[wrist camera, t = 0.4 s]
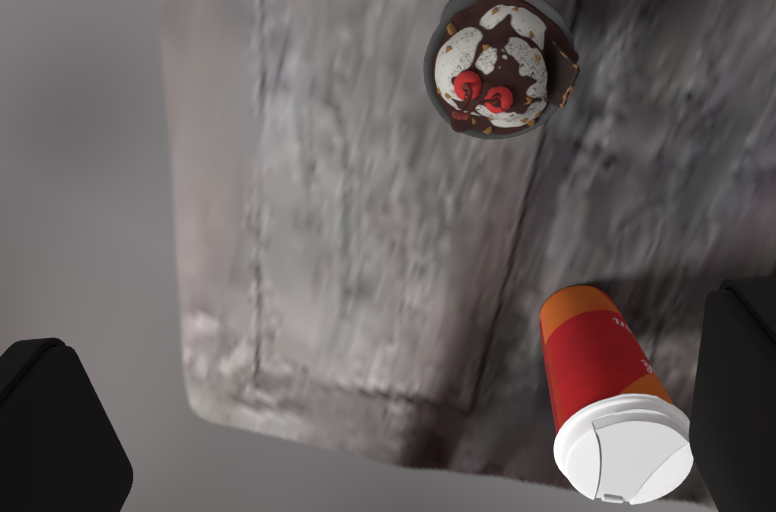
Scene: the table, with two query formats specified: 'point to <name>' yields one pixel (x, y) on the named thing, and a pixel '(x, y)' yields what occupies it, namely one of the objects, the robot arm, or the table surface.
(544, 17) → the sundae
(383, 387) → the table surface
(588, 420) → the paper cup
